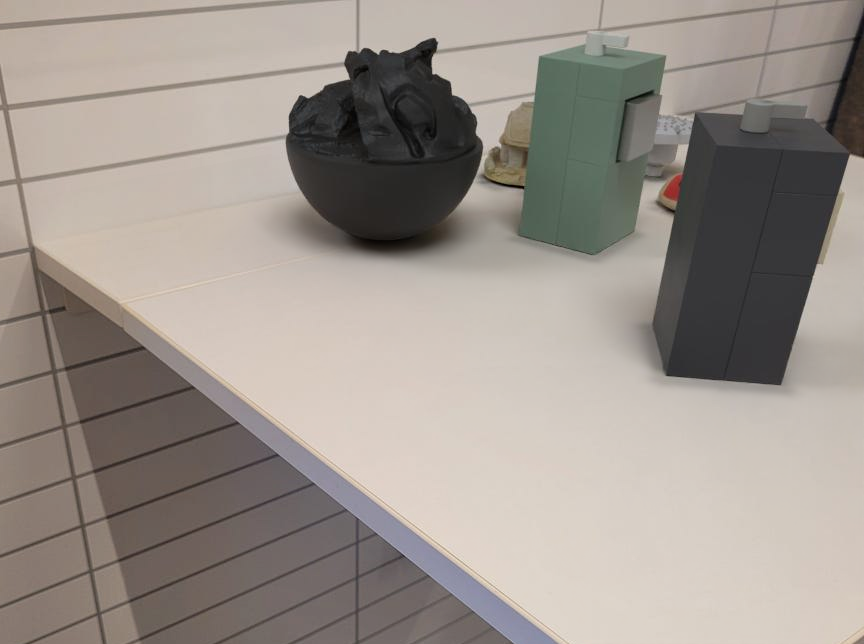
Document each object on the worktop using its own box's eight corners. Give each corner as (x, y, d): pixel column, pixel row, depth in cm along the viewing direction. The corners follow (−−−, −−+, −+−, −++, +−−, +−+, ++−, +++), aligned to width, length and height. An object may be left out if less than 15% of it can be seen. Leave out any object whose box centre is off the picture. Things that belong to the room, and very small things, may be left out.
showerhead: (645, 127, 114) (614, 107, 122) (634, 187, 118) (605, 164, 126) (717, 126, 115) (682, 107, 123) (704, 185, 119) (671, 163, 127)
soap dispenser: (634, 230, 104) (670, 33, 93) (594, 255, 97) (627, 45, 86) (562, 213, 109) (588, 22, 97) (518, 235, 102) (541, 33, 91)
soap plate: (652, 150, 97) (662, 94, 94) (627, 162, 93) (637, 104, 90) (640, 147, 98) (649, 92, 95) (614, 159, 94) (623, 102, 91)
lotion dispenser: (755, 331, 83) (821, 91, 72) (781, 385, 75) (859, 122, 63) (651, 324, 84) (700, 84, 72) (666, 375, 75) (723, 114, 64)
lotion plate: (803, 237, 76) (823, 169, 73) (823, 264, 71) (844, 193, 68) (786, 236, 76) (804, 168, 73) (804, 263, 71) (824, 191, 68)
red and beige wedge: (680, 194, 116) (686, 165, 114) (746, 217, 109) (754, 186, 107) (642, 203, 112) (648, 173, 110) (709, 227, 106) (716, 195, 104)
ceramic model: (596, 173, 122) (609, 92, 117) (593, 199, 113) (606, 112, 108) (489, 163, 125) (496, 83, 119) (477, 188, 116) (484, 102, 110)
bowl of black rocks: (328, 281, 90) (328, 69, 79) (263, 216, 105) (255, 31, 94) (510, 255, 97) (531, 58, 86) (424, 198, 112) (433, 24, 101)
